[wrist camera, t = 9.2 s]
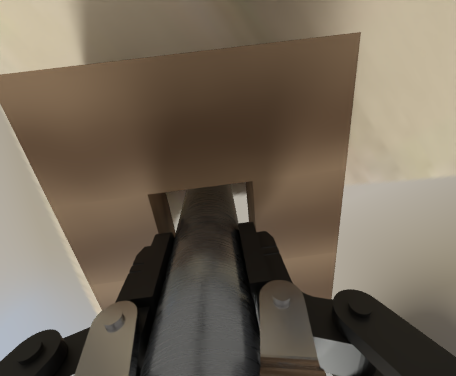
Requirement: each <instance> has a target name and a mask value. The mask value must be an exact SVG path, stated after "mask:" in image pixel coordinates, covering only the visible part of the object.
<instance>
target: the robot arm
mask: <svg viewBox="0 0 456 376" xmlns="http://www.w3.org/2000/svg"><path fill="white" fill-rule="evenodd" d="M238 231H239V237H240V242H241V247H242V252H243V258H244V263H245V268H246V273H247V279H248V284H249V289H250V295H251V298H252V299H253V302H254V304H255V309H256V314H257V319H258V324H259V329H260V376H326V373H330V374H332V375H333V376H456V357H455V356H453V355H452V354H451V353H449V352H448V351H447V350H445V349H444V348H443V347H441V346H439V345H438V344H437V343H436V342H434V341H433V340H432V339H430V338H429V337H427V336H426V335H425V334H423V333H422V332H420V331H419V330H418V329H416V328H415V327H413V326H412V325H410V324H409V323H408V322H407V321H405V320H404V319H402V318H401V317H400V316H398V315H397V314H396V313H394V312H393V311H392V310H390V309H389V308H387V307H386V306H385V305H383V304H382V303H380V302H379V301H378V300H376V299H375V298H373V297H372V296H370V295H368V294H366V293H364V292H362V291H358V290H343V291H340V292H338V293H337V294H336V295H335V297H334V299H333V300H332V299H325V298H319V297H313V296H310V295H307V294H305V293H303V292H302V291H301V290H300V289H299V288H298V287H297V286H296V285H294V284H293V282H292V280H291V278H290V276H289V273H288V271H287V269H286V266H285V264H284V262H283V259H282V257H281V254H280V253H279V250H278V247H277V245H276V242H275V240H274V238H273V236H271V235H270V234H269V233H268V232H267V231H260V232H256V229H255V226H254V223H253V222H246V223H238ZM174 239H175V238H174V234H173V233H172V232H169V233H161V234H156V235H155V236H154V239H153V241H152V244H151V246H146V247H144V248H143V249H142V250H141V251H140V252H139V253H138V254H137V256H136V258H135V260H134V262H133V266H132V267H131V269H130V271H129V274H128V275H127V278H126V280H125V282H124V284H123V286H122V289H121V291H120V293H119V295H118V297H117V300H116V302H115V303H114V304H112V305H110V306H108V307H106V308H105V309H104V310H102V311H101V312H100V313H99V314H98V315H97V316H96V318H95V319H94V321H93V322H92V325H91V327H89V328H87V329H85V330H82V331H80V332H77V333H75V334H73V335H70V336H68V337H65V338H62V336H61V335H60V333H59V332H58V331H56V330H45V331H42V332H39V333H36V334H35V335H33V336H31V337H29V338H28V339H26V340H25V341H23V342H22V343H21V344H19V345H18V346H17V347H16V348H15V349H14V350H13V351H12V352H10V353H9V354H8V355H7V356H6V357H5V358H4V359H3V360H2V361H0V376H140V374H141V370H142V366H143V362H144V358H145V354H146V350H147V346H148V342H149V338H150V334H151V330H152V326H153V322H154V318H155V314H156V310H157V306H158V302H159V298H160V294H161V290H162V286H163V282H164V278H165V274H166V270H167V266H168V262H169V258H170V254H171V250H172V246H173V243H174ZM325 372H326V373H325Z"/></svg>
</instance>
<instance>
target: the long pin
mask: <svg viewBox="0 0 456 376" xmlns="http://www.w3.org/2000/svg"><path fill="white" fill-rule="evenodd" d="M140 376H260V329H259V324H258V319H257V314H256V309H255V304H254V302H253V299H252V298H251V295H250V289H249V284H248V279H247V273H246V268H245V263H244V258H243V252H242V247H241V242H240V237H239V231H238V220H237V214H236V209H235V204H234V199H233V194H232V189H231V185H230V184H226V185H219V186H211V187H203V188H195V189H187V191H186V195H185V199H184V203H183V207H182V211H181V215H180V219H179V223H178V227H177V231H176V235H175V239H174V243H173V246H172V250H171V254H170V258H169V262H168V266H167V270H166V274H165V278H164V282H163V286H162V290H161V294H160V298H159V302H158V306H157V310H156V314H155V318H154V322H153V326H152V330H151V334H150V338H149V342H148V346H147V350H146V354H145V358H144V362H143V366H142V370H141V374H140Z"/></svg>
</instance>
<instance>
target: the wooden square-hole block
mask: <svg viewBox="0 0 456 376" xmlns="http://www.w3.org/2000/svg"><path fill="white" fill-rule="evenodd" d="M360 34H361V32H359V33H350V34H342V35H333V36H325V37H316V38H308V39H299V40H291V41H282V42H274V43H265V44H257V45H248V46H240V47H231V48H223V49H214V50H206V51H197V52H189V53H180V54H172V55H163V56H155V57H146V58H138V59H129V60H121V61H112V62H104V63H95V64H87V65H78V66H70V67H61V68H53V69H44V70H36V71H27V72H19V73H10V74H2V75H0V104H1V106H2V108H3V110H4V112H5V114H6V116H7V118H8V120H9V122H10V124H11V126H12V128H13V130H14V132H15V134H16V136H17V138H18V140H19V142H20V144H21V146H22V148H23V150H24V152H25V154H26V156H27V158H28V160H29V162H30V165H31V167H32V169H33V171H34V173H35V175H36V177H37V179H38V181H39V183H40V185H41V187H42V189H43V191H44V193H45V195H46V197H47V199H48V201H49V203H50V205H51V207H52V209H53V211H54V213H55V215H56V217H57V219H58V221H59V223H60V226H61V228H62V230H63V232H64V234H65V236H66V238H67V240H68V242H69V244H70V246H71V248H72V250H73V252H74V254H75V256H76V258H77V260H78V262H79V264H80V266H81V268H82V270H83V272H84V274H85V276H86V278H87V280H88V282H89V284H90V287H91V289H92V291H93V293H94V295H95V297H96V299H97V301H98V303H99V305H100V307H101V309H102V310H104V309H105V308H106V307H108V306H110V305H112V304H114V303H115V302H116V300H117V297H118V295H119V293H120V291H121V289H122V286H123V284H124V282H125V280H126V278H127V275H128V274H129V271H130V269H131V267H132V266H133V262H134V260H135V258H136V256H137V254H138V253H139V252H140V251H141V250H142V249H143V248H144V247H146V246H151V244H152V241H153V239H154V236H155V235H156V234H161V233H169V232H172V233H173V234H174V238H175V235H176V233H175V229H174V225H173V221H172V217H171V212H170V208H169V204H168V200H167V196H166V192H172V191H180V190H187V189H195V188H203V187H211V186H219V185H226V184H234V183H242V182H246V191H247V203H248V214H249V222H253V223H254V226H255V229H256V232H260V231H267V232H268V233H269V234H270V235H271V236H273V238H274V240H275V242H276V245H277V247H278V250H279V253H280V254H281V257H282V259H283V262H284V264H285V266H286V269H287V271H288V273H289V276H290V278H291V280H292V282H293V284H294V285H296V286H297V287H298V288H299V289H300V290H301V291H302V292H303V293H305V294H307V295H310V296H313V297H319V298H325V299H331V298H332V289H333V280H334V269H335V262H336V253H337V243H338V234H339V225H340V216H341V207H342V197H343V189H344V180H345V171H346V161H347V152H348V143H349V134H350V125H351V116H352V107H353V98H354V89H355V79H356V70H357V61H358V52H359V43H360Z"/></svg>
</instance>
